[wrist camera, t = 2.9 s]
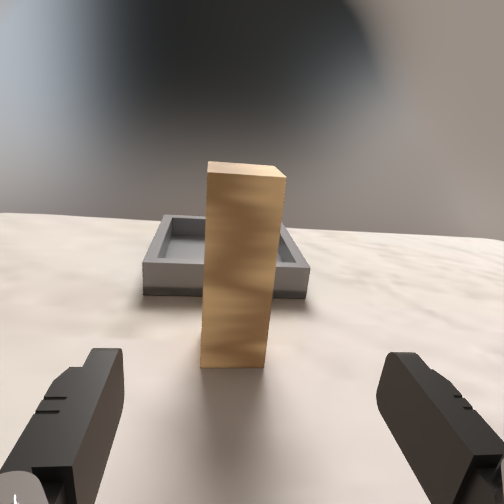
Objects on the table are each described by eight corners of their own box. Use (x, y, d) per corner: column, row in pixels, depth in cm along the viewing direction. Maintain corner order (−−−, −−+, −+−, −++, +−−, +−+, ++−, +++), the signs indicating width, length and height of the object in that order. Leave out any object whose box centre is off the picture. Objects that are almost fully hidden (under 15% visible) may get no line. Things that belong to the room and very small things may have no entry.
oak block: (256, 331, 26) (273, 165, 21) (263, 367, 22) (286, 177, 18) (201, 330, 25) (208, 161, 21) (200, 367, 22) (207, 172, 17)
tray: (278, 243, 44) (280, 220, 43) (305, 298, 31) (310, 267, 30) (164, 238, 42) (164, 214, 41) (143, 294, 29) (142, 262, 28)
